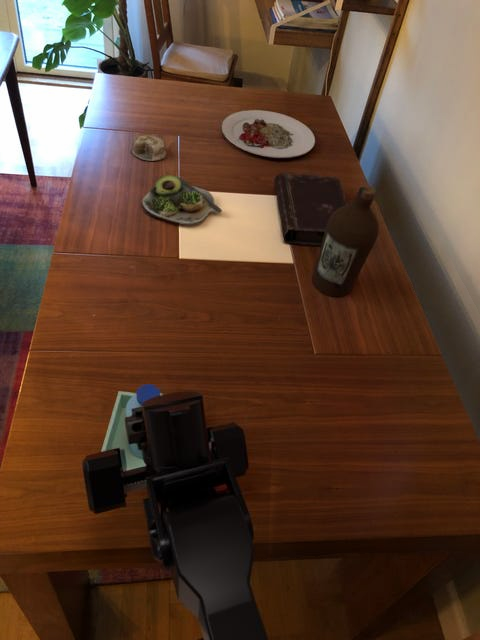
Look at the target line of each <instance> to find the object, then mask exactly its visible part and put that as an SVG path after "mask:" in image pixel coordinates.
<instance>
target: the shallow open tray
mask: <svg viewBox="0 0 480 640" xmlns="http://www.w3.org/2000/svg"><path fill="white" fill-rule="evenodd" d="M136 393H137V392H128V391H123V390H118V392H117V396H116V400H115V403H114V406H113V409H112V413H111V416H110V420H109V422H108V426H107V431H106V433H105V437H104V441H103V444H102V448H101V451H100V452H102V451H107V450H111V449H116V448H120V450H121V449H124V450H125V456H126V462H127V470H131V469H135V468H139V467H143V466H146V464H145V463H144V461H143V459H140V458H137V457H136V456H135V455H133V454H132V452H131V451H130V449H129V445H128V439H127V433H126V427H125V420H124V419H125V417H126V405H127V403H128V401H129V400H130V398H131V397H132V396H133V395H135V394H136ZM145 481H146V480H145ZM139 482H140V481H139ZM139 482H138V483H139ZM142 482H143V481H142ZM135 484H136V482H135Z"/></svg>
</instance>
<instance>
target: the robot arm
mask: <svg viewBox="0 0 480 640" xmlns="http://www.w3.org/2000/svg"><path fill="white" fill-rule="evenodd" d="M204 404H205V402H204V397H203V393H201V392H199V391H192V390H191V391H190V390H189V391H175V392H170V393H165V394H163V395H160V396H156V397H153V398H151V399H148V400H147V401H145V402H144V403H143V404H142V407H138V408H132V409H131V411H132V416H129V417H125V419H124V420H125V427H126V433H127V439H128V444H130V445H131V444H137V446H138V450H142V456H143V461H144V463H145V464H146V466H143V467H139V468H135V469H131V470H127V462H126V456H125V450H124V449H121V450H120V448H116V449H111V450H107V451H102V452H101V451H98V452H96V453H92V454H87V455H86V456H85V457H84V458H83V460H82V473H83V479H84V485H85V486H84V487H85V492H86V499H87V504H88V509H89V511H90V512H91V513H93V514H94V515H99V514H103V513H107V512H110V511H113V510H118V509H121V508H126V507H127V502H126V498H128V493H132V492H136V491H137V492H138V491H140V490H144V489H146V491H147V498H143V499H142V509H143V514H144V518H145V524H146V530H147V534H148V540H149V544H150V550H151V555H152V558H153V560H155V561H157V562H158V564H160V566H161V569H162V571H163V572H167V571H170V574H171V579H172V582H173V587H174V590H175V594H176V597H177V599H178V601H179V602H180V603H182V604H183V606H185V608H187V610H189V612H191V613H192V614H193V615H194V616H195V617H196V619H198V622H199V626H200V627H199V628H200V629H201V633H202V637H200V638H198V639H197V640H270V638H269V637H268V632H267V630H266V627H265V625H264V622H263V618H262V616H261V613H260V610H259V606H258V605H257V604H258V603H257V601H256V598H255V595H254V591H253V588H252V585H251V577H252V571H253V565H254V559H255V553H256V549H255V545H254V542H255V532H254V525H253V522H252V518H251V515H250V512H249V509H248V506H247V504H246V501H245V498H244V496H243V492H242V490H241V487H240V485H239V482H238V479H237V478H239V477H243V476H245V475H246V473H247V472H248V469H249V468H250V467H249V466H250V465H249V464H250V463H249V456H248V449H247V448H248V447H247V442H246V434H245V431H244V429H243V428H242V427H241V426H240V425H238V424H237V423H236V422H234V421H233V422H229V423H225V424H223V423H222V424H218V425H214V426H209V427H208V426H207V419H206V409H205V405H204ZM145 480H146V481H145ZM139 481H140V482H139ZM142 481H143V482H142ZM135 482H136V484H135ZM138 482H139V483H138ZM225 484H226V486H227V489H226V490H227V491H223V492H220V493H218V491H216V489H215V488H214V487H218V486H222V485H225Z"/></svg>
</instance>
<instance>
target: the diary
mask: <svg viewBox="0 0 480 640" xmlns="http://www.w3.org/2000/svg"><path fill="white" fill-rule="evenodd" d="M273 182H274V187H275V192H276V200H277V208H278V214H279V219H280V226H281V234H282V235H281V236H282V240H283V243H284V244H291V245H292V244H293V245H303V246H304V245H305V246H314V247H315V246H316V247H321V245H322V241H323V237H324V233H325V230H326V226H327V222H328V220H329V218H330V217H331V215H332V214H333V213H334V212H335V211H336V210H337V209H338V208H340V207H342V206H345V205H347V204H348V203H347V200H346V196H345V193H344V189H343V185H342V183H341V180H340V178H339V177H333V176H325V175H317V174H305V173H304V174H303V173H286V172H278V173H277V174H276V176H275V177H274V181H273Z"/></svg>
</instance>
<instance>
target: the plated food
mask: <svg viewBox="0 0 480 640" xmlns="http://www.w3.org/2000/svg"><path fill="white" fill-rule="evenodd" d="M221 124H222V125H221V132H222V133H223V135H224V137H225V139H227V140H228V141H229V142H230V143H232V144H233V145H234V146H235V147H237V148H239V149H241V150H243V151H246V152H248V153H251V154H254V155H257V156H262V157H267V158H274V159H290V158H295V157H296V158H297V157H300V156H303V155H306V154H307V153H309V152H311V151H312V149H313V148H314V146H315V144H316V138H315V135H314V133H313V131H312V130H311V129H310V128H309V127H308V126H307V125H305V124H304V123H302V122H301V121H299V120H297V119H295V118H293V117H291V116H288V115H286V114H283V113H278V112H276V111H275V112H274V111H269V110H262V109H261V110H260V109H259V110H258V109H249V110H242V111H241V110H240V111H238V112H234V113H232V114H230V115H228V116H227V117H225V118H224V120H223V121H222V123H221Z"/></svg>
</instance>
